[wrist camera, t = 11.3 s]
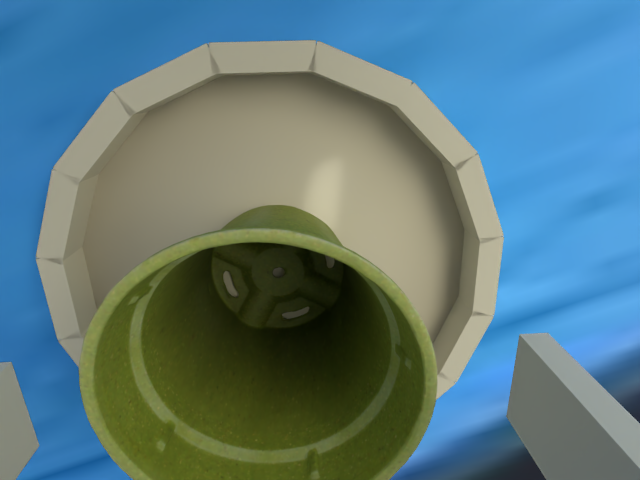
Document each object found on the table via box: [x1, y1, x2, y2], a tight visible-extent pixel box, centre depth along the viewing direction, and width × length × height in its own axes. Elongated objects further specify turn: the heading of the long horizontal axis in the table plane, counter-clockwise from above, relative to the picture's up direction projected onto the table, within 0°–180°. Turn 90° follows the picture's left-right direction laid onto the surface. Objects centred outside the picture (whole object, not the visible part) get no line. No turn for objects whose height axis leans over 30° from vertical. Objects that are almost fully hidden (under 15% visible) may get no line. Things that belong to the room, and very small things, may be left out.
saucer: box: [36, 40, 504, 399], centre depth 19 cm, size 19×19×2 cm
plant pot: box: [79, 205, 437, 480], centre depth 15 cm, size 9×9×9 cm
